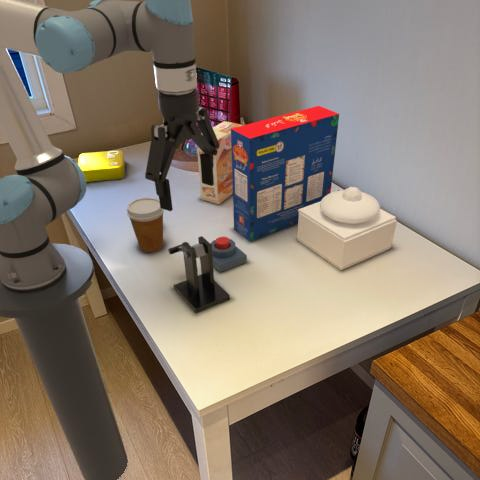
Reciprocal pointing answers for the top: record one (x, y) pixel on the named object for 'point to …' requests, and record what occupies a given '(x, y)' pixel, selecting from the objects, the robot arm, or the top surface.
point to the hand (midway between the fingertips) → (188, 196)
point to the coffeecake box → (219, 166)
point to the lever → (198, 247)
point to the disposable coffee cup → (147, 223)
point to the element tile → (102, 165)
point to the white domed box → (346, 227)
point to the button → (222, 243)
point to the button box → (227, 257)
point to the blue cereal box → (281, 169)
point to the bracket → (200, 280)
